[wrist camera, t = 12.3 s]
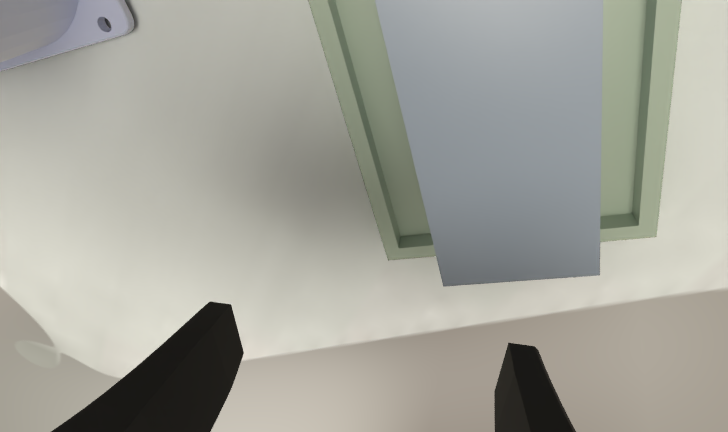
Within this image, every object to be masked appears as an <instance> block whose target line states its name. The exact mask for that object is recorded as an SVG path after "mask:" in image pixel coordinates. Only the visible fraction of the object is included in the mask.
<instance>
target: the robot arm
mask: <svg viewBox="0 0 728 432" xmlns="http://www.w3.org/2000/svg"><path fill="white" fill-rule="evenodd" d="M105 18H106V19H108V21H109V22H110V24H111V29H110V28H109V27H108V26H107V25H106V23H105V20H104V19H105ZM133 28H134V20H133V17H132V14H131V12H130V10H129V9H128V7H127V5H126V3H125V1H124V0H0V72H1V71H4V70H8V69H11V68H14V67H18V66H21V65H24V64H28V63H31V62H35V61H38V60H41V59H45V58H48V57H52V56H55V55H58V54H62V53H65V52H68V51H72V50H75V49H79V48H82V47H85V46H89V45H92V44H95V43H99V42H102V41H106V40H109V39H112V38H116V37H119V36H123V35H125V34H128V33H130V32H131V31H132V30H133ZM243 354H244V352H243V348H242V345H241V341H240V337H239V333H238V329H237V326H236V322H235V318H234V314H233V310H232V306H231V305H230V304H223V303H216V302H209V303H208V304H207V305H205V306H204V307H203V308H202V309H201V310H200V311H199V312H198V313H196V314H195V315H194V316H193V317H192V318H191V319H190V320H189V321H188V322H187V323H185V324H184V325H183V326H182V327H181V328H180V329H179V330H178V331H177V332H176V333H174V334H173V335H172V336H171V337H170V338H169V339H168V340H167V341H166V342H165V343H163V344H162V345H161V346H160V347H159V348H158V349H157V350H155V351H154V352H153V353H152V354H151V355H150V356H148V357H147V358H146V359H145V360H144V361H143V362H142V363H140V364H139V365H138V366H137V367H136V368H135V369H133V370H132V371H131V372H130V373H128V374H127V375H126V376H125V377H124V378H122V379H121V380H120V381H119V382H117V383H116V384H115V385H114V386H112V387H111V388H110V389H109V390H108V391H106V392H105V393H104V394H102V395H101V396H100V397H99V398H97V399H96V400H95V401H93V402H92V403H91V404H89V405H88V406H87V407H85V408H84V409H83V410H81V411H80V412H79V413H77V414H76V415H74V416H73V417H72V418H71V419H69V420H67V421H66V422H64V423H63V424H62V425H60V426H59V427H57V428H56V429H54V430H53V431H52V432H210V431H211V429H212V427H213V425H214V423H215V421H216V419H217V417H218V415H219V413H220V411H221V409H222V407H223V405H224V403H225V401H226V399H227V397H228V394H229V392H230V390H231V388H232V385H233V382H234V380H235V377H236V374H237V371H238V368H239V365H240V362H241V359H242V357H243ZM495 432H576V431H575V429H574V427H573V425H572V424H571V422H570V420H569V418H568V416H567V414H566V412H565V410H564V408H563V406H562V404H561V402H560V400H559V397H558V395H557V393H556V391H555V389H554V387H553V384H552V383H551V380H550V378H549V376H548V373H547V371H546V369H545V366H544V364H543V361H542V359H541V356H540V354H539V351H538V350H537V349H536V347H534V346H527V345H520V344H513V343H508V347H507V350H506V354H505V358H504V361H503V364H502V368H501V371H500V375H499V378H498V382H497V386H496V389H495Z"/></svg>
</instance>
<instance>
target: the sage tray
mask: <svg viewBox="0 0 728 432" xmlns="http://www.w3.org/2000/svg"><path fill="white" fill-rule="evenodd" d="M308 1H309V5H310V8H311V11H312V14H313V18H314V21H315V24H316V27H317V31H318V34H319V37H320V40H321V44H322V47H323V50H324V53H325V57H326V60H327V63H328V66H329V70H330V73H331V76H332V79H333V83H334V86H335V89H336V92H337V96H338V99H339V102H340V105H341V109H342V112H343V115H344V118H345V122H346V125H347V128H348V131H349V135H350V138H351V141H352V144H353V148H354V151H355V154H356V157H357V161H358V164H359V167H360V170H361V174H362V177H363V180H364V183H365V187H366V190H367V193H368V196H369V200H370V203H371V206H372V209H373V213H374V216H375V219H376V222H377V226H378V229H379V232H380V235H381V239H382V242H383V245H384V248H385V252H386V255H387V258H388V260H398V259H409V258H421V257H432V256H436V253H435V249H434V245H433V240H432V236H431V232H430V228H429V224H428V220H427V215H426V211H425V207H424V203H423V199H422V195H421V190H420V186H419V182H418V178H417V174H416V170H415V165H414V161H413V157H412V153H411V149H410V145H409V141H408V136H407V132H406V128H405V124H404V120H403V116H402V111H401V107H400V103H399V99H398V95H397V91H396V86H395V82H394V78H393V74H392V70H391V66H390V61H389V57H388V53H387V49H386V45H385V41H384V36H383V32H382V28H381V24H380V20H379V16H378V11H377V7H376V3H375V0H308ZM681 3H682V0H603V56H602V131H601V206H600V242H605V241H616V240H628V239H639V238H651V237H656V235H657V226H658V216H659V207H660V198H661V189H662V179H663V170H664V161H665V151H666V142H667V133H668V124H669V114H670V105H671V96H672V87H673V77H674V68H675V59H676V50H677V40H678V31H679V22H680V13H681Z"/></svg>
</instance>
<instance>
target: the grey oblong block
mask: <svg viewBox="0 0 728 432" xmlns="http://www.w3.org/2000/svg"><path fill="white" fill-rule="evenodd" d="M375 3H376V7H377V11H378V16H379V20H380V24H381V28H382V32H383V36H384V41H385V45H386V49H387V53H388V57H389V61H390V66H391V70H392V74H393V78H394V82H395V86H396V91H397V95H398V99H399V103H400V107H401V111H402V116H403V120H404V124H405V128H406V132H407V136H408V141H409V145H410V149H411V153H412V157H413V161H414V165H415V170H416V174H417V178H418V182H419V186H420V190H421V195H422V199H423V203H424V207H425V211H426V215H427V220H428V224H429V228H430V232H431V236H432V240H433V245H434V249H435V253H436V257H437V261H438V265H439V270H440V274H441V278H442V282H443V286H456V285H470V284H484V283H498V282H512V281H526V280H540V279H554V278H568V277H582V276H596V275H600V206H601V131H602V56H603V0H375Z"/></svg>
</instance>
